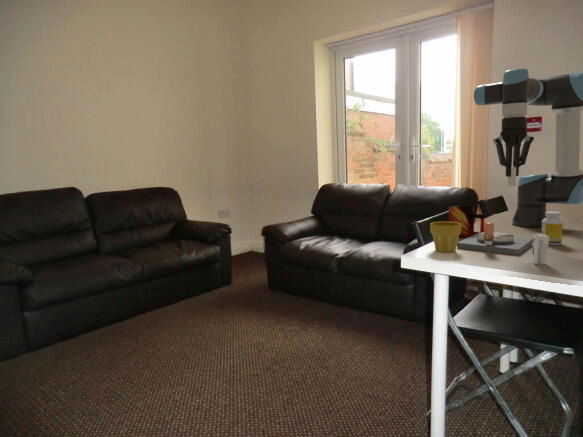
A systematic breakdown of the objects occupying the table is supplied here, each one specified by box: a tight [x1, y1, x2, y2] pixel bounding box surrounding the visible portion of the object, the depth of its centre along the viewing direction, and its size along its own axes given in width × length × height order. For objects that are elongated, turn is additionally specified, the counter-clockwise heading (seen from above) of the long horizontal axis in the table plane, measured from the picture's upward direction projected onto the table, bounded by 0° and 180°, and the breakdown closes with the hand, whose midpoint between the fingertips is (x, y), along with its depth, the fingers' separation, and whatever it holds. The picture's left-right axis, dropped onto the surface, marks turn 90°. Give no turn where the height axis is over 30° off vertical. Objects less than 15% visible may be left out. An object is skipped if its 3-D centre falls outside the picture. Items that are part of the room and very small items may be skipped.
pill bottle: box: [540, 211, 563, 246], centre depth 155 cm, size 6×6×12 cm
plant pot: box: [429, 220, 461, 254], centre depth 149 cm, size 10×10×10 cm
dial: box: [477, 222, 515, 245], centre depth 151 cm, size 18×12×8 cm
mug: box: [448, 205, 485, 239], centre depth 173 cm, size 10×14×12 cm
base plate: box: [456, 234, 533, 256], centre depth 154 cm, size 20×20×2 cm
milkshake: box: [531, 233, 551, 266], centre depth 128 cm, size 4×5×10 cm
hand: (511, 185), depth 148 cm, fingers closed
